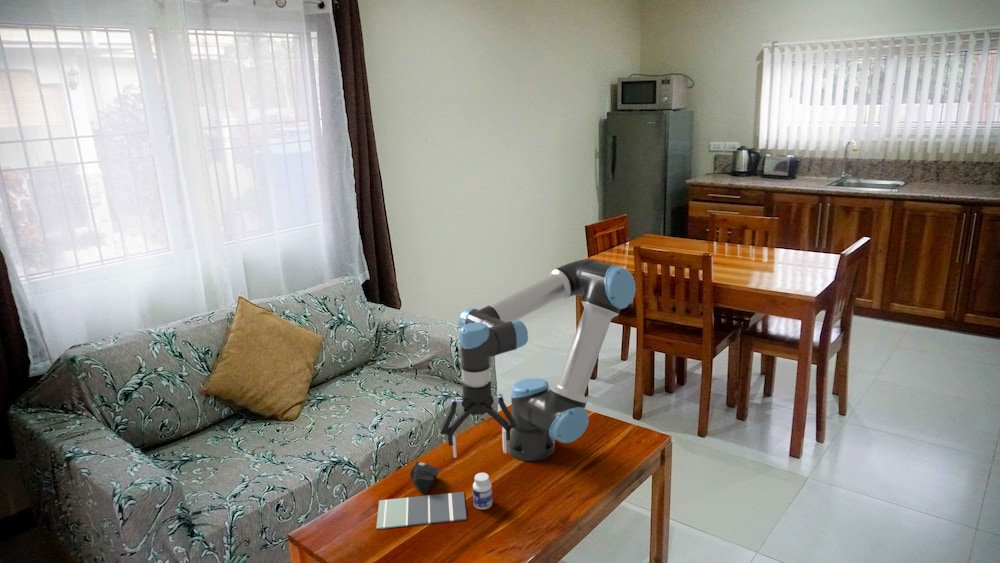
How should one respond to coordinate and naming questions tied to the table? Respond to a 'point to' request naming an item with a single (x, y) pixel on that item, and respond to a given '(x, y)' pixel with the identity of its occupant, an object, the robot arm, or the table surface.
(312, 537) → the table surface
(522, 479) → the table surface
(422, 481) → the rock
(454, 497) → the lane
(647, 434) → the table surface
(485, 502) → the pill bottle
